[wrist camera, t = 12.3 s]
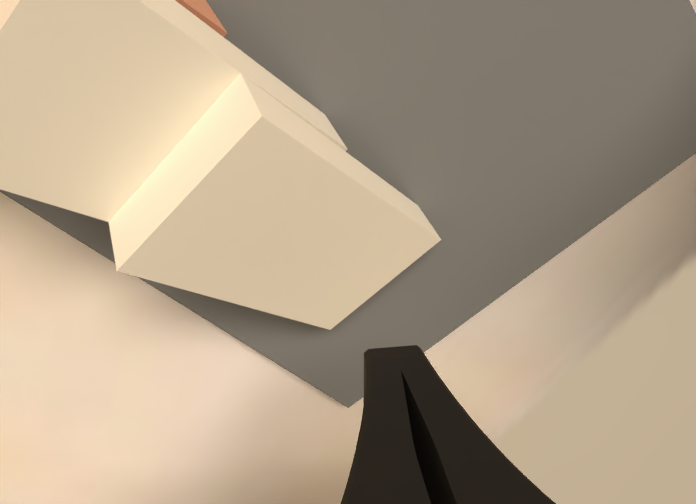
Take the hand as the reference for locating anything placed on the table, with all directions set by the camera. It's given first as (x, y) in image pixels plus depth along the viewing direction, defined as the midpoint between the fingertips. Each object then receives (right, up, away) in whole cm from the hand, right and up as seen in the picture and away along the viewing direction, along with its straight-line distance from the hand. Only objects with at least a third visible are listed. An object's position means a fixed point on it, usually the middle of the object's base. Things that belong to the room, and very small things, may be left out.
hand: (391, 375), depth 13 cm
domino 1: (-3, +5, +3) cm, 7 cm away
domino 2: (0, +3, +5) cm, 5 cm away
